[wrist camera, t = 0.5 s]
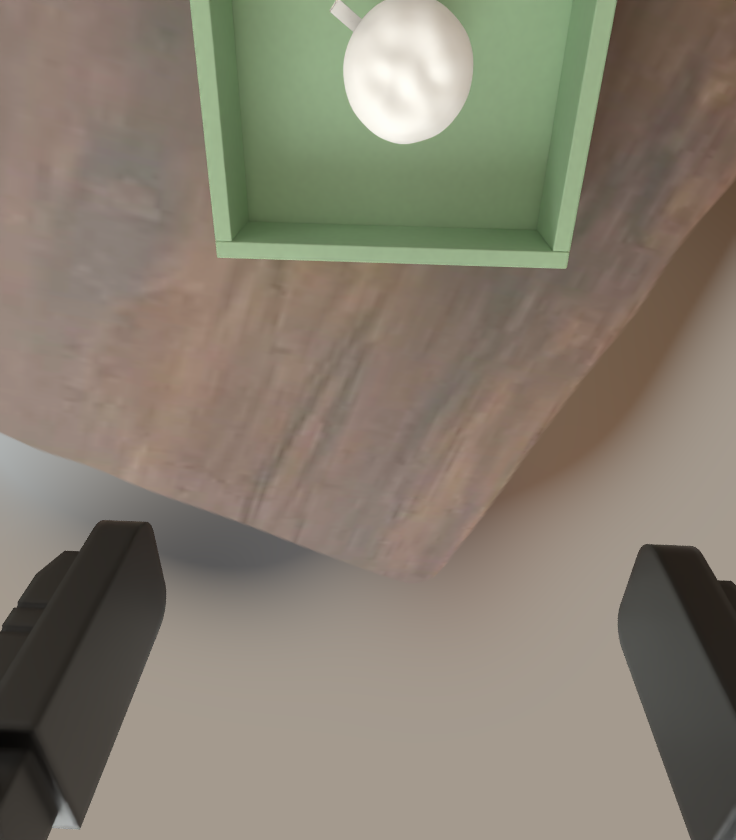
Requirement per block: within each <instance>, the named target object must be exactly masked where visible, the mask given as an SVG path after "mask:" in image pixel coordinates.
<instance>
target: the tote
mask: <svg viewBox="0 0 736 840" xmlns="http://www.w3.org/2000/svg"><path fill="white" fill-rule="evenodd" d="M335 1H336V0H190V7H191V16H192V26H193V35H194V44H195V54H196V63H197V73H198V82H199V91H200V101H201V110H202V119H203V129H204V138H205V148H206V157H207V166H208V176H209V185H210V195H211V204H212V213H213V223H214V232H215V240H216V251H217V257H218V258H247V259H278V260H310V261H341V262H373V263H404V264H436V265H467V266H499V267H531V268H562V269H565V268H567V264H568V258H569V251H570V247H571V242H572V237H573V231H574V226H575V221H576V216H577V210H578V205H579V200H580V194H581V189H582V184H583V179H584V173H585V168H586V163H587V157H588V152H589V147H590V141H591V136H592V131H593V126H594V120H595V115H596V110H597V104H598V99H599V94H600V88H601V83H602V78H603V73H604V67H605V62H606V57H607V51H608V46H609V41H610V35H611V30H612V25H613V20H614V14H615V9H616V4H617V0H437V1H438V2H440V3H442V4H443V5H444V6H445V7H447V8H448V9H449V10H450V11H451V12H452V13H453V14H454V15H455V17H456V18H457V19H458V20H459V21H460V23H461V24H462V26H463V27H464V29H465V31H466V33H467V35H468V37H469V40H470V43H471V47H472V52H473V76H472V83H471V87H470V91H469V94H468V97H467V99H466V101H465V104H464V105H463V107H462V109H461V111H460V112H459V114H458V115H457V117H456V118H455V119H454V120H453V122H452V123H451V124H450V125H449V126H448V127H447V128H446V129H444V130H443V131H442V132H441V133H439V134H437V135H436V136H434V137H431V138H429V139H426V140H423V141H420V142H416V143H411V144H397V143H392V142H389V141H386V140H384V139H382V138H380V137H378V136H377V135H375V134H374V133H372V132H371V131H370V130H369V129H368V128H367V127H366V126H365V125H364V124H363V123H362V122H361V121H360V120H359V118H358V117H357V116H356V114H355V113H354V111H353V109H352V107H351V105H350V103H349V100H348V97H347V94H346V90H345V85H344V77H343V64H344V56H345V52H346V48H347V45H348V43H349V40H350V38H351V36H352V34H353V31H351V30H350V29H349V28H348V27H347V26H345V25H344V24H343V23H342V22H341V21H339V20H338V19H337V18H336V17H335V16H333V15H332V14H331V13H330V9H331V7H332V5H333V4H334V2H335ZM341 1H343V2H344V3H345V4H346V5H347V6H348V7H349V8H350V9H351V10H352V11H353V12H355V13H356V14H357V15H358V16H359V17H360V18H361V19H362V18H363V17H364V16H365V15H366V14H367V13H368V12H369V11H370V10H371V9H372V8H373V7H375V6H376V5H377V4H379V3H381V2H382V1H384V0H341Z"/></svg>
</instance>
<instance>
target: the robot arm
mask: <svg viewBox="0 0 736 840" xmlns="http://www.w3.org/2000/svg"><path fill="white" fill-rule="evenodd" d="M165 605H166V586H165V581H164V577H163V573H162V568H161V563H160V559H159V554H158V550H157V545H156V540H155V536H154V532H153V528H152V526H151V525H150V524H149V523H148V522H136V521H112V520H102V521H100V522H98V523H97V524H96V526H95V527H94V528H93V530H92V532H91V533H90V535H89V537H88V538H87V540H86V542H85V543H84V545H83V546H82V548H81V550H80V551H64V552H63V553H61V554H60V555H59V556H58V557H56V558H55V559H54V560H53V561H52V562H51V563H49V564H48V565H47V566H45V567H44V568H43V569H42V570H41V571H39V572H38V573H37V574H36V575H35V577H34V578H33V580H32V581H31V583H30V584H29V586H28V587H27V589H26V590H25V592H24V593H23V595H22V596H21V598H20V599H19V601H18V606H17V608H13V610H12V611H11V613H10V614H9V616H8V617H7V619H6V620H5V622H4V623H3V625H2V630H1V632H0V840H47V838H48V836H49V833H50V831H51V829H52V828H64V829H80V828H81V825H82V823H83V820H84V818H85V815H86V813H87V810H88V808H89V805H90V803H91V800H92V798H93V795H94V793H95V790H96V787H97V785H98V783H99V780H100V777H101V775H102V772H103V770H104V767H105V765H106V762H107V760H108V757H109V755H110V752H111V750H112V747H113V745H114V742H115V740H116V737H117V735H118V732H119V730H120V727H121V724H122V722H123V720H124V717H125V714H126V712H127V709H128V707H129V704H130V702H131V699H132V697H133V694H134V692H135V689H136V687H137V684H138V682H139V679H140V676H141V674H142V672H143V669H144V666H145V664H146V661H147V659H148V657H149V654H150V651H151V649H152V646H153V644H154V641H155V639H156V636H157V634H158V631H159V629H160V626H161V623H162V620H163V616H164V612H165ZM618 633H619V639H620V644H621V647H622V650H623V653H624V656H625V658H626V661H627V664H628V667H629V669H630V672H631V675H632V678H633V681H634V683H635V686H636V689H637V691H638V694H639V697H640V700H641V703H642V705H643V708H644V711H645V713H646V716H647V719H648V722H649V724H650V728H651V730H652V733H653V736H654V739H655V741H656V744H657V747H658V750H659V752H660V755H661V758H662V761H663V763H664V766H665V769H666V772H667V774H668V777H669V780H670V783H671V786H672V788H673V791H674V794H675V797H676V799H677V802H678V805H679V808H680V810H681V813H682V816H683V819H684V822H685V824H686V827H687V830H688V832H689V835H690V838H691V840H736V585H735V584H734V583H733V582H732V581H719V580H717V579H716V577H715V575H714V573H713V572H712V570H711V568H710V567H709V565H708V563H707V561H706V560H705V558H704V557H703V555H702V553H701V552H700V551H699V550H698V549H697V548H696V547H693V546H676V545H652V544H651V545H650V544H646V545H643V546H642V547H641V549H640V550H639V552H638V555H637V558H636V561H635V564H634V567H633V569H632V572H631V575H630V578H629V581H628V584H627V587H626V590H625V593H624V596H623V599H622V602H621V604H620V608H619V613H618Z"/></svg>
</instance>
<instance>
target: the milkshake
mask: <svg viewBox="0 0 736 840" xmlns="http://www.w3.org/2000/svg"><path fill="white" fill-rule="evenodd" d="M330 13H331V14H332V15H333V16H335V17H336V18H337V19H338V20H339V21H341V22H342V23H343V24H344V25H345V26H347V27H348V28H349V29H350V30H351V31H353V34H352V36H351V38H350V40H349V43H348V45H347V48H346V52H345V56H344V64H343V77H344V85H345V90H346V94H347V97H348V100H349V103H350V105H351V107H352V109H353V111H354V113H355V114H356V116H357V117H358V118H359V120H360V121H361V122H362V123H363V124H364V125H365V126H366V127H367V128H368V129H369V130H370V131H371V132H372V133H374V134H375V135H377V136H378V137H380V138H382V139H384V140H386V141H389V142H392V143H397V144H411V143H416V142H420V141H423V140H426V139H429V138H431V137H434V136H436V135H437V134H439V133H441V132H442V131H443V130H444V129H446V128H447V127H448V126H449V125H450V124H451V123H452V122H453V120H454V119H455V118H456V117H457V115H458V114H459V112H460V111H461V109H462V107H463V105H464V104H465V101H466V99H467V97H468V94H469V91H470V87H471V83H472V76H473V52H472V47H471V43H470V40H469V37H468V35H467V33H466V31H465V29H464V27H463V26H462V24H461V23H460V21H459V20H458V19H457V18H456V17H455V15H454V14H453V13H452V12H451V11H450V10H449V9H448V8H447V7H445V6H444V5H443V4H442V3H440V2H438V1H437V0H384V1H382V2H381V3H379V4H377V5H376V6H375V7H373V8H372V9H371V10H370V11H369V12H368V13H367V14H366V15H365V16H364V17H363V18H362V19H361V18H360V17H359V16H358V15H357V14H356V13H355V12H353V11H352V10H351V9H350V8H349V7H348V6H347V5H346V4H345V3H344V2H343V1H341V0H336V1H335V2H334V4H333V5H332V7H331V9H330Z"/></svg>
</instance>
